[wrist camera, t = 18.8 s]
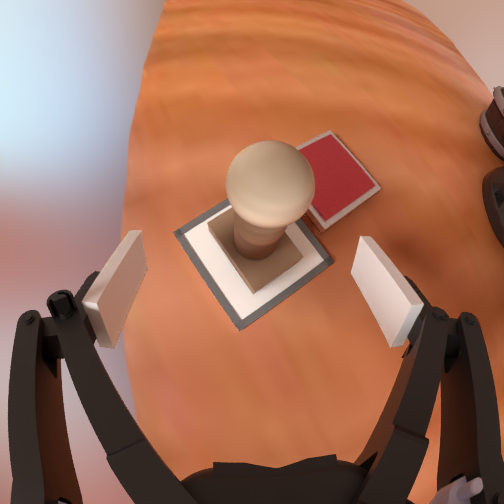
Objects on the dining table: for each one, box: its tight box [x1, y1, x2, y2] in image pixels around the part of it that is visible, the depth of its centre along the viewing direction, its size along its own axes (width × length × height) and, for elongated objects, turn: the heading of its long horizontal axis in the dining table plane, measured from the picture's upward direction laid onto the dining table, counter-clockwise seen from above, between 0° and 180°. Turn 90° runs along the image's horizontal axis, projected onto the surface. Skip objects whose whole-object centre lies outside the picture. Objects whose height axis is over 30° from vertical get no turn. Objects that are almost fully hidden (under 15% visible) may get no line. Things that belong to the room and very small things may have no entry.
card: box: [173, 198, 333, 331], centre depth 26 cm, size 11×11×1 cm
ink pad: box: [295, 131, 381, 233], centre depth 28 cm, size 9×9×2 cm
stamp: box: [207, 140, 315, 294], centre depth 19 cm, size 7×5×15 cm
